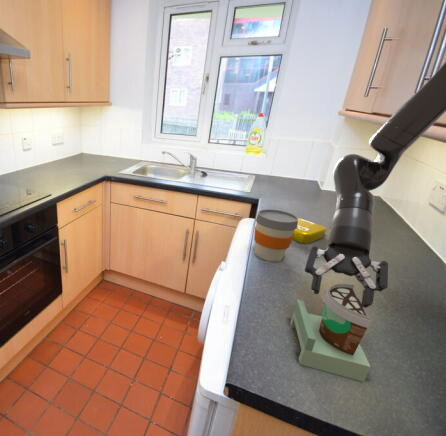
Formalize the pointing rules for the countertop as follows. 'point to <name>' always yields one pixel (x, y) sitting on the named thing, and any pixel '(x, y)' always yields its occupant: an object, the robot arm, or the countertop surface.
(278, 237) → the reusable coffee cup
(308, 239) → the yellow flat block
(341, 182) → the robot arm
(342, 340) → the food container
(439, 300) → the countertop surface
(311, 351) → the green stand base
